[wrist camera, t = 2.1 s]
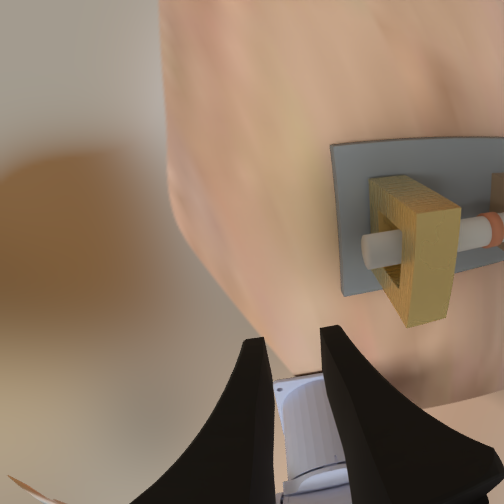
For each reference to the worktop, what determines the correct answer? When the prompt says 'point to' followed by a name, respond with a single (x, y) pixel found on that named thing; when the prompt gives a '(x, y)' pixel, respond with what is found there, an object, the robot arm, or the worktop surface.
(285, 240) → the worktop surface
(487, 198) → the rail
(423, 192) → the collar
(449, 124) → the worktop surface
